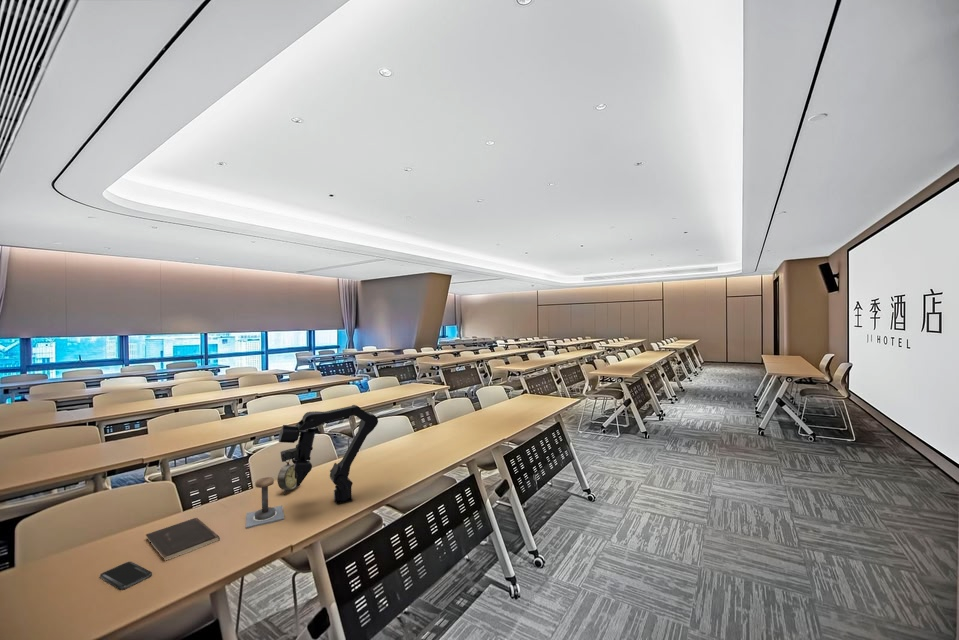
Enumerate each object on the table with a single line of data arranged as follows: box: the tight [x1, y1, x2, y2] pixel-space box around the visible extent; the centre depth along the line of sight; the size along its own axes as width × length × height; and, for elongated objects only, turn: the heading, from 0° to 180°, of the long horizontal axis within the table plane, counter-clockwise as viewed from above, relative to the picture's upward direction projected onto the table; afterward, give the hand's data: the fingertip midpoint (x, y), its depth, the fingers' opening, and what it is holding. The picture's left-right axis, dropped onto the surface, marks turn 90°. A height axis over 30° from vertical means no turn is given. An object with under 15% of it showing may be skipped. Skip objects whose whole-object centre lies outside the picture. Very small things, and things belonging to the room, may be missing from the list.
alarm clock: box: [276, 459, 298, 496], centre depth 183 cm, size 11×5×16 cm, turn 168°
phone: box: [99, 561, 153, 591], centre depth 122 cm, size 8×1×15 cm
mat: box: [245, 505, 285, 529], centre depth 158 cm, size 13×13×1 cm
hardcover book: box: [145, 517, 220, 562], centre depth 143 cm, size 16×23×2 cm
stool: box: [255, 476, 275, 520], centre depth 158 cm, size 7×7×14 cm
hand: (296, 482), depth 162 cm, fingers open, 9 cm apart
